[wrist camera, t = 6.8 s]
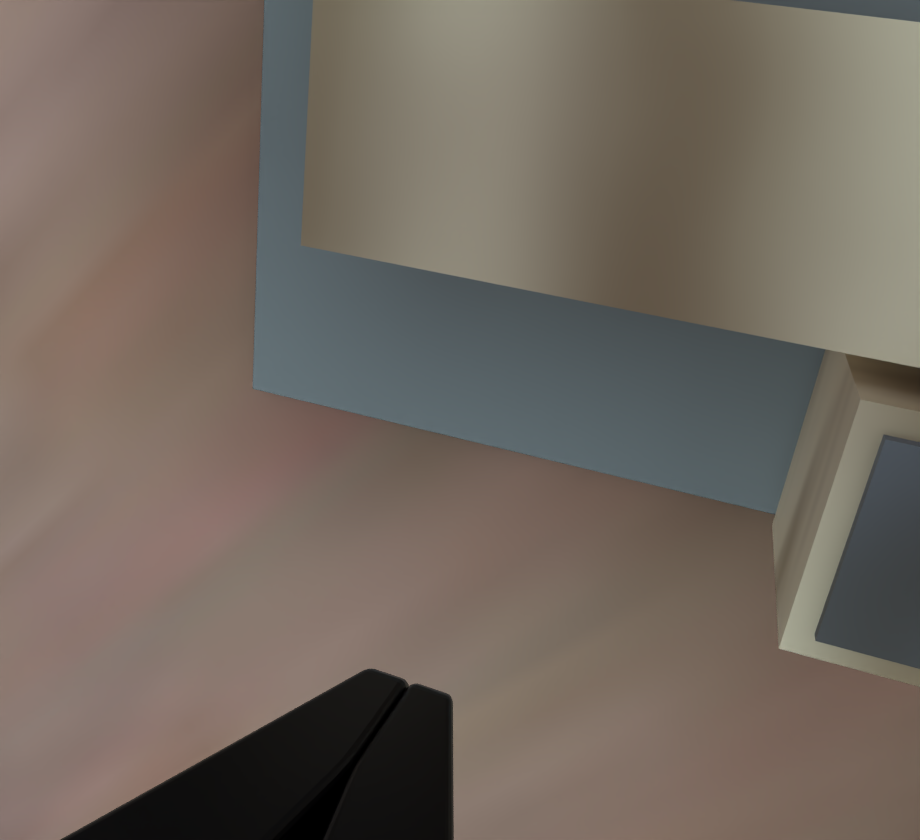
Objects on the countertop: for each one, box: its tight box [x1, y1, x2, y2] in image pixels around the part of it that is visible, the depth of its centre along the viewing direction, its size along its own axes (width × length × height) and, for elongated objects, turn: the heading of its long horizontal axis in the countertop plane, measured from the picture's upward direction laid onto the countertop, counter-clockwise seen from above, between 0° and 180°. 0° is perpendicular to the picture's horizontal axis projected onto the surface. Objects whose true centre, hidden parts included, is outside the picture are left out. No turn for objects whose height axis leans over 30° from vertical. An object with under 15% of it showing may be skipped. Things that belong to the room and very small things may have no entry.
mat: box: [253, 0, 920, 514], centre depth 17 cm, size 17×14×1 cm
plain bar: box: [301, 0, 920, 368], centre depth 15 cm, size 12×4×4 cm, turn 83°
